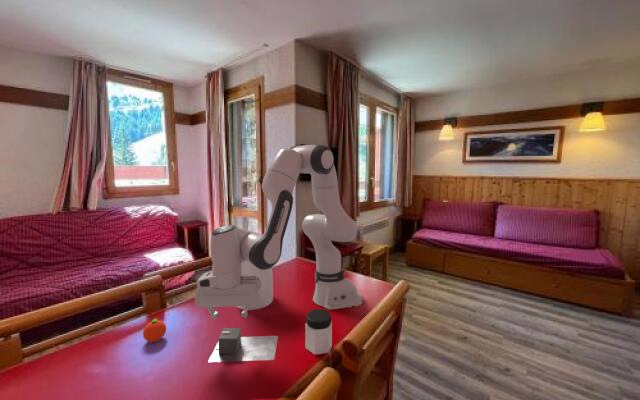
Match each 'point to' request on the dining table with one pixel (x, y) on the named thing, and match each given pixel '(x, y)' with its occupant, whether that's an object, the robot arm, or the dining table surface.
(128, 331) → the dining table surface
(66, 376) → the dining table surface
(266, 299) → the cylinder
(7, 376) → the dining table surface
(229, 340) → the dark gray cube
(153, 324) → the clementine
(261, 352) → the plate
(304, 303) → the dining table surface
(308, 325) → the jar
